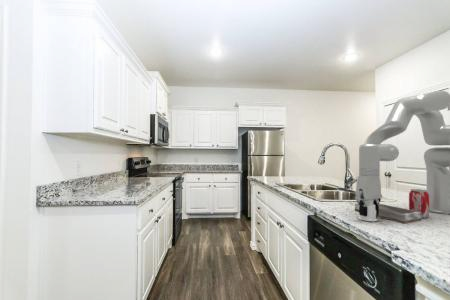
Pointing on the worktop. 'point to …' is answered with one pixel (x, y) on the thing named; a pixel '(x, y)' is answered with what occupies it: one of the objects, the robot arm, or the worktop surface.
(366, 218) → the downlight
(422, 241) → the worktop surface
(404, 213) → the silver picture frame
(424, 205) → the soda can
